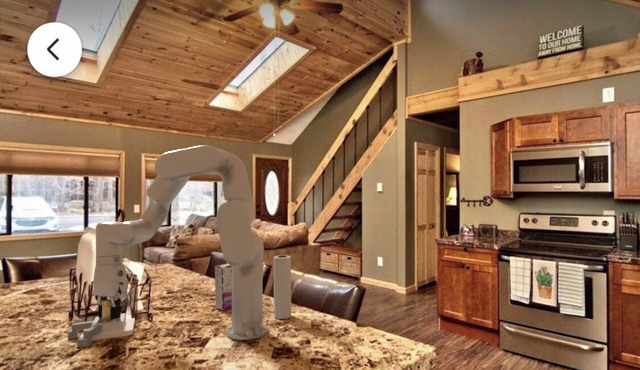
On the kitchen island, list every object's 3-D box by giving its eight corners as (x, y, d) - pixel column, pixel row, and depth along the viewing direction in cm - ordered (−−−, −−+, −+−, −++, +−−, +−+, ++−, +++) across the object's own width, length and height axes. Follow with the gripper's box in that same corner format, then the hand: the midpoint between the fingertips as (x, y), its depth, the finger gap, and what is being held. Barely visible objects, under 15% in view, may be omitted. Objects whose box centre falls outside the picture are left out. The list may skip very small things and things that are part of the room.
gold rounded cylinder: (118, 326, 116) (118, 301, 116) (99, 329, 114) (99, 303, 114) (119, 321, 120) (119, 296, 121) (101, 323, 118) (101, 298, 118)
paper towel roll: (288, 320, 126) (287, 257, 126) (271, 319, 127) (271, 257, 128) (294, 313, 133) (293, 254, 133) (278, 312, 134) (277, 253, 135)
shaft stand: (131, 340, 110) (131, 326, 110) (60, 351, 103) (60, 336, 103) (134, 322, 125) (134, 310, 125) (73, 330, 118) (73, 318, 118)
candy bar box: (237, 301, 148) (237, 260, 149) (245, 303, 145) (245, 262, 146) (214, 308, 139) (214, 265, 140) (222, 311, 136) (222, 267, 137)
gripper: (138, 259, 118) (139, 316, 118) (101, 256, 124) (101, 311, 124) (118, 264, 111) (118, 324, 111) (79, 260, 117) (79, 318, 117)
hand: (109, 316), depth 117 cm, fingers open, 4 cm apart
